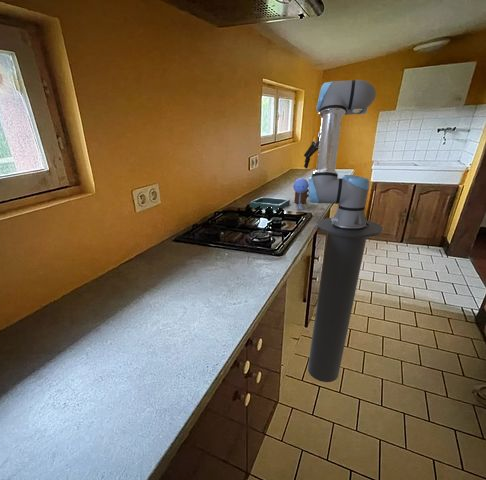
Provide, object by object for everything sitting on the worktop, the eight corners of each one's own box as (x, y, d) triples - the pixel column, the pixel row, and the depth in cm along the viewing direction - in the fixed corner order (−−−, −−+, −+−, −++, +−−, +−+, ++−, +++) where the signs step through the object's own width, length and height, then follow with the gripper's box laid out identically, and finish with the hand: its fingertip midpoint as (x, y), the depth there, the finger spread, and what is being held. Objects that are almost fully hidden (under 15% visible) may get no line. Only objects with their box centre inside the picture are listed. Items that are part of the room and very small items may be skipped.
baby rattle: (288, 208, 183) (290, 177, 175) (300, 207, 186) (303, 176, 178) (296, 211, 176) (299, 179, 168) (309, 210, 178) (312, 178, 171)
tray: (289, 204, 194) (289, 199, 192) (278, 210, 181) (279, 205, 179) (261, 201, 204) (261, 196, 202) (249, 207, 191) (249, 202, 189)
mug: (313, 201, 199) (315, 187, 195) (313, 204, 193) (315, 189, 188) (294, 201, 202) (295, 186, 198) (293, 203, 196) (295, 188, 192)
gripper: (305, 133, 191) (294, 165, 191) (341, 126, 171) (330, 162, 172) (311, 139, 195) (301, 170, 196) (347, 133, 176) (336, 168, 176)
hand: (314, 166), depth 184 cm, fingers open, 13 cm apart
